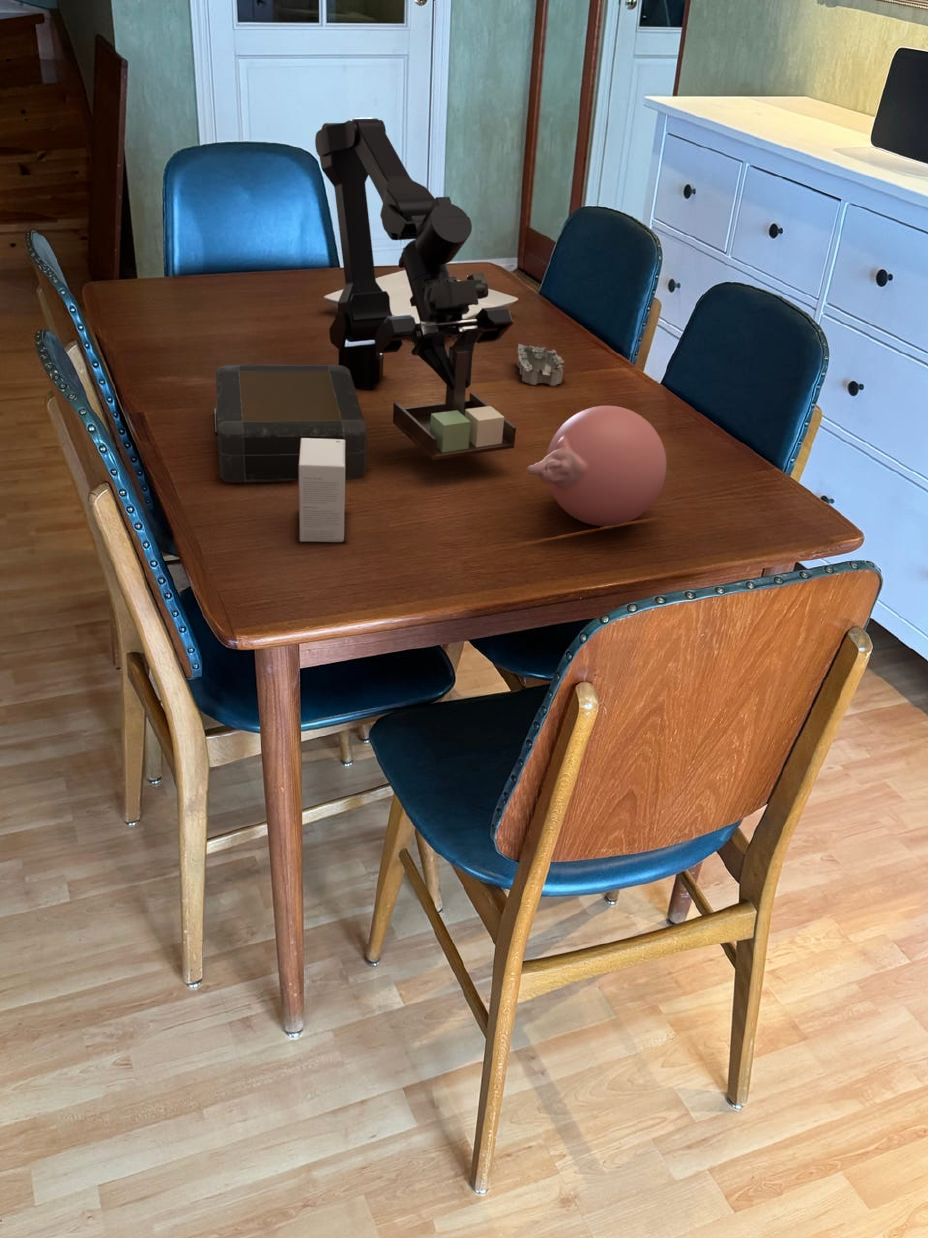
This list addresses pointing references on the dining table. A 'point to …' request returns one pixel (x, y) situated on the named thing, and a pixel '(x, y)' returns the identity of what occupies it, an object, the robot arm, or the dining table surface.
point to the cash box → (284, 419)
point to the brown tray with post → (419, 417)
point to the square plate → (402, 293)
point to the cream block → (485, 426)
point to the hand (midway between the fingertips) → (460, 387)
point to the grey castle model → (539, 365)
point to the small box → (321, 490)
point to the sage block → (450, 430)
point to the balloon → (604, 466)
